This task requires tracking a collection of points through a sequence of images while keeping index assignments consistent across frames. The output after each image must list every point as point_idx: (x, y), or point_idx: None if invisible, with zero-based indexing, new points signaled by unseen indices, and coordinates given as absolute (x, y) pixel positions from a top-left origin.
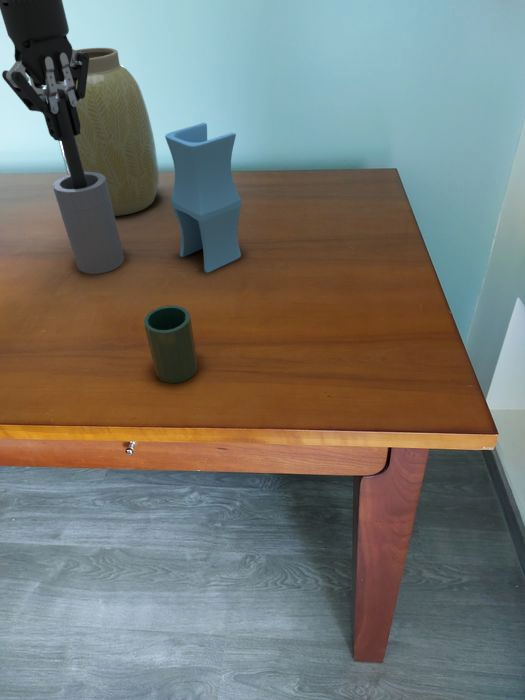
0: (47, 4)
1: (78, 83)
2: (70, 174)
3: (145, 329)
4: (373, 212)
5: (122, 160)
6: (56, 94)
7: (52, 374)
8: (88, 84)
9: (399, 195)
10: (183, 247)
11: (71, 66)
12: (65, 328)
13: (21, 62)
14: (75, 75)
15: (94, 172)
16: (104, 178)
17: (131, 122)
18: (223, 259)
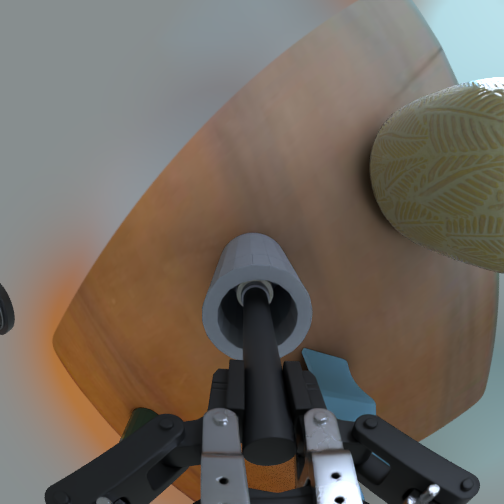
0: None
1: (363, 481)
2: (245, 320)
3: (120, 439)
4: (418, 429)
5: (431, 244)
6: (307, 439)
7: (87, 345)
8: None
9: (444, 425)
10: (305, 361)
11: (407, 497)
12: (127, 318)
13: None
14: (389, 484)
15: (310, 314)
16: (288, 352)
17: (491, 270)
18: None
